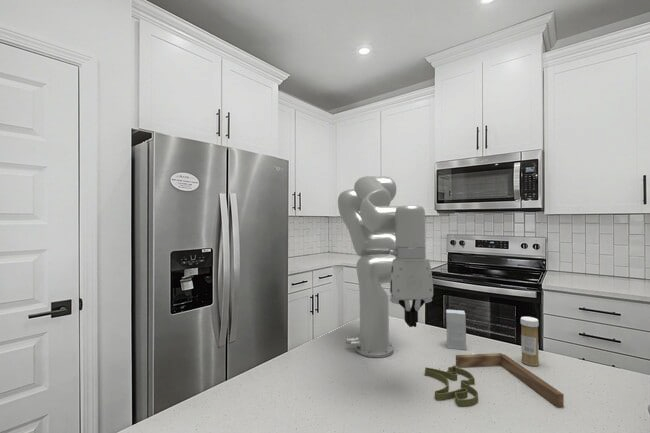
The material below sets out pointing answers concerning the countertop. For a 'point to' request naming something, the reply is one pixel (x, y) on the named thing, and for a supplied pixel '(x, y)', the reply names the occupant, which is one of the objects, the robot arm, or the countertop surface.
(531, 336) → the sprinkles bottle
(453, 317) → the skincare box
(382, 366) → the countertop surface
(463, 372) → the cookie cutter
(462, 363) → the walnut fence
